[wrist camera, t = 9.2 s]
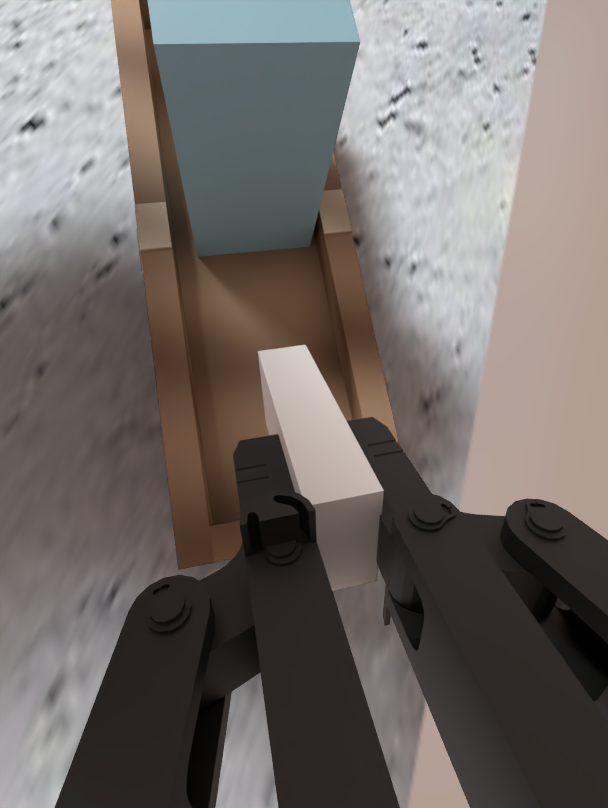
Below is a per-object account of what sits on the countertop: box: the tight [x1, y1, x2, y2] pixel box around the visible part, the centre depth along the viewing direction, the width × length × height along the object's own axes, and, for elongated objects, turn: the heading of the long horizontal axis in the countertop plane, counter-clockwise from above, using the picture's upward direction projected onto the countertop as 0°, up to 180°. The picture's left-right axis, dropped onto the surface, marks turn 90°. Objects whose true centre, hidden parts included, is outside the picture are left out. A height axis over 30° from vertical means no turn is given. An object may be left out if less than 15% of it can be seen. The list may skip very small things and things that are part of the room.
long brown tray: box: [111, 0, 399, 570], centre depth 21 cm, size 26×9×7 cm, turn 10°
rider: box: [148, 0, 360, 257], centre depth 15 cm, size 5×5×9 cm
